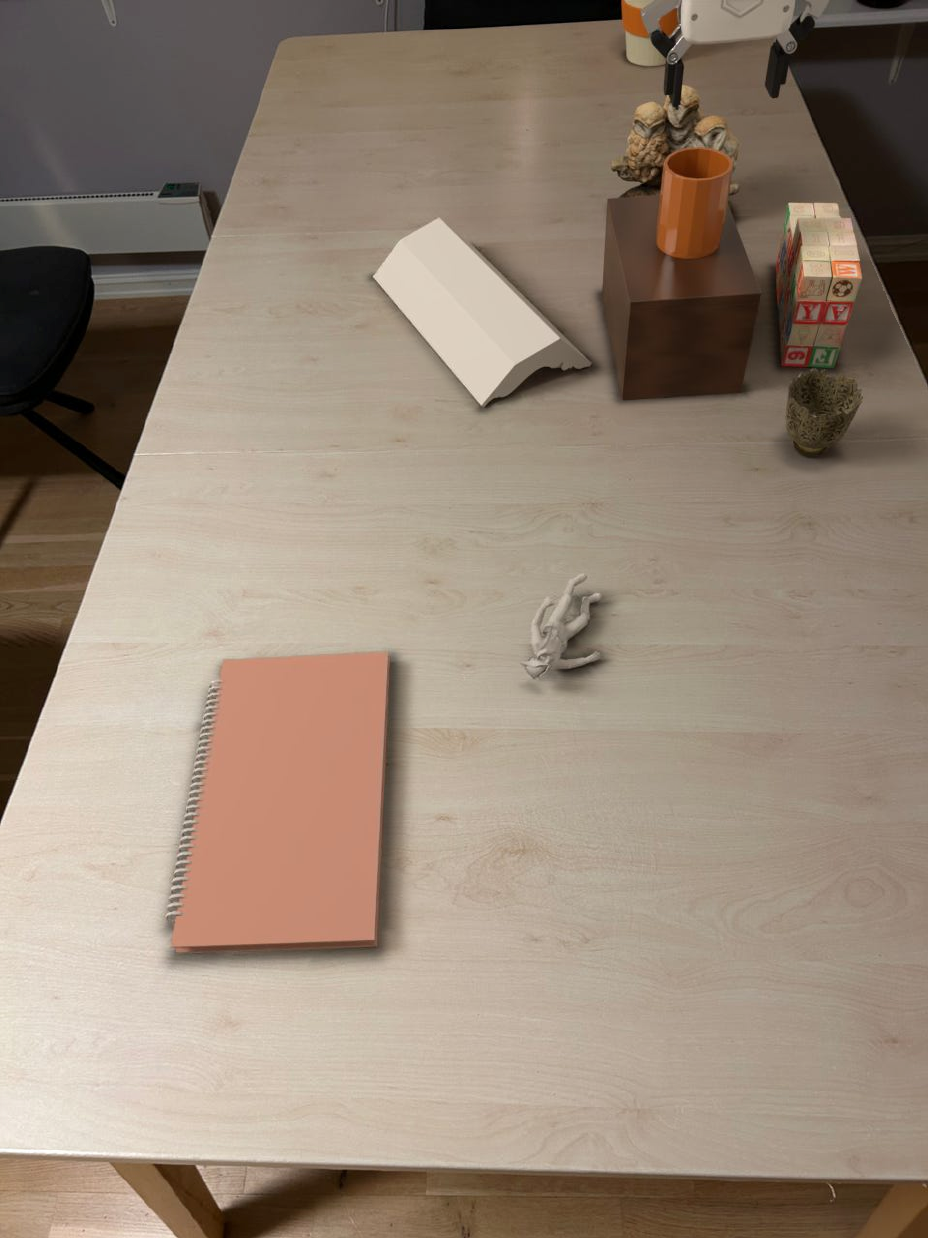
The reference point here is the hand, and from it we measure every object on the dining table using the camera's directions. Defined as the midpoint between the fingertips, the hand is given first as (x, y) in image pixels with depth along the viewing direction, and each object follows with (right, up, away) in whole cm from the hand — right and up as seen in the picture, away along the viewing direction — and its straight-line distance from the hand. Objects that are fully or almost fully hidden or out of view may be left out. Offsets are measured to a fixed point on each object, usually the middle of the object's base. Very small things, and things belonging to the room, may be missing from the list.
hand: (722, 96), depth 94 cm
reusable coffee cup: (+8, +50, +76) cm, 91 cm away
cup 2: (+12, -34, +10) cm, 37 cm away
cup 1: (0, -9, +13) cm, 16 cm away
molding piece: (-24, -13, +29) cm, 40 cm away
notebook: (-41, -68, -12) cm, 80 cm away
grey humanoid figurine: (-17, -55, -4) cm, 57 cm away
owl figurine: (+4, +6, +42) cm, 43 cm away
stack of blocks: (+17, -14, +25) cm, 33 cm away
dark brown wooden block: (0, -17, +24) cm, 29 cm away
